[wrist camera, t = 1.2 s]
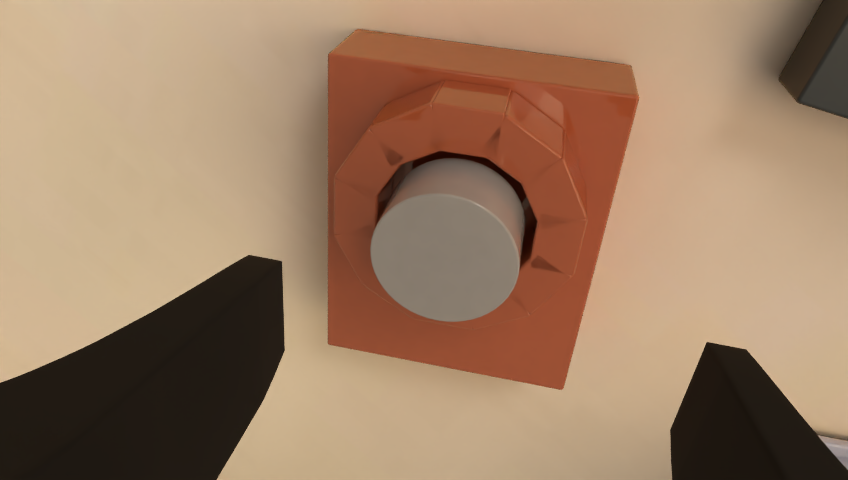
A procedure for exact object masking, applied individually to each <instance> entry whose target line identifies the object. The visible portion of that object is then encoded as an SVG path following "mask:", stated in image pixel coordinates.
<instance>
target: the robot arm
mask: <svg viewBox="0 0 848 480" xmlns="http://www.w3.org/2000/svg"><path fill="white" fill-rule="evenodd" d="M284 351H285V347H284V314H283V281H282V261H278V260H273V259H268V258H262V257H257V256H252V255H248V256H246V257H244V258H243V259H241V260H239V261H237V262H235V263H234V264H232V265H230V266H229V267H227V268H225V269H224V270H222V271H220V272H219V273H217V274H215V275H214V276H212V277H210V278H209V279H207V280H206V281H204V282H202V283H201V284H199V285H197V286H196V287H194V288H192V289H191V290H189V291H187V292H185V293H184V294H182V295H180V296H179V297H177V298H175V299H174V300H172V301H170V302H168V303H167V304H165V305H163V306H162V307H160V308H158V309H157V310H155V311H153V312H151V313H149V314H147V315H146V316H144V317H142V318H140V319H138V320H136V321H134V322H132V323H131V324H129V325H127V326H125V327H123V328H121V329H119V330H117V331H115V332H114V333H112V334H110V335H108V336H106V337H104V338H102V339H100V340H98V341H96V342H94V343H92V344H90V345H88V346H86V347H84V348H82V349H80V350H78V351H76V352H73V353H71V354H69V355H67V356H65V357H63V358H60V359H58V360H56V361H53V362H51V363H49V364H46V365H44V366H42V367H39V368H37V369H35V370H32V371H30V372H28V373H25V374H23V375H20V376H18V377H15V378H12V379H10V380H7V381H4V382H1V383H0V480H216V479H217V478H218V476H219V474H220V473H221V471H222V469H223V468H224V466H225V464H226V463H227V461H228V459H229V458H230V456H231V454H232V453H233V451H234V449H235V448H236V446H237V444H238V443H239V441H240V439H241V438H242V436H243V434H244V432H245V431H246V429H247V427H248V426H249V424H250V422H251V420H252V419H253V417H254V415H255V414H256V412H257V410H258V408H259V407H260V405H261V403H262V401H263V400H264V398H265V395H266V393H267V391H268V389H269V386H270V384H271V382H272V380H273V377H274V375H275V372H276V370H277V368H278V365H279V363H280V360H281V358H282V355H283V353H284ZM670 435H671V464H672V480H848V441H846V440H840V439H835V438H830V437H825V436H820V435H817V434H816V433H815V432H814V431H813V429H812V428H811V427H810V426H809V425H808V423H807V422H806V421H805V420H804V419H803V417H802V416H801V415H800V414H799V413H798V411H797V410H796V409H795V408H794V407H793V405H792V404H791V403H790V402H789V400H788V399H787V398H786V397H785V396H784V394H783V393H782V392H781V391H780V389H779V388H778V387H777V386H776V385H775V383H774V382H773V381H772V380H771V378H770V377H769V376H768V375H767V373H766V372H765V371H764V370H763V369H762V367H761V366H760V365H759V364H758V363H757V361H756V360H755V359H754V358H753V357H752V356H751V355H750V353H749V352H748V351H747V350H746V349H740V348H735V347H730V346H725V345H719V344H714V343H709V342H707V343H706V346H705V348H704V350H703V353H702V355H701V358H700V360H699V362H698V365H697V367H696V370H695V372H694V374H693V377H692V379H691V382H690V384H689V386H688V389H687V391H686V394H685V396H684V398H683V401H682V403H681V406H680V408H679V410H678V413H677V415H676V418H675V420H674V422H673V425H672V427H671V430H670Z"/></svg>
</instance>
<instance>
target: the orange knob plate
mask: <svg viewBox="0 0 848 480" xmlns="http://www.w3.org/2000/svg"><path fill="white" fill-rule="evenodd" d="M638 101H639V95H638V91H637V87H636V82H635V78H634V74H633V70H632V66H630V65H624V64H617V63H609V62H602V61H594V60H587V59H579V58H572V57H564V56H557V55H549V54H542V53H534V52H526V51H519V50H511V49H504V48H496V47H489V46H481V45H474V44H466V43H459V42H451V41H444V40H436V39H429V38H421V37H414V36H406V35H398V34H391V33H383V32H376V31H368V30H361V29H357V30H355V31H354V32H353V33H352V34H350V35H349V36H348V37H347V38H346V39H345V40H344V41H342V42H341V43H340V44H339V45H338V46H337V47H336V48H334V49H333V50H332V51H331V52H330V53H329V54H328V344H329V345H333V346H339V347H344V348H349V349H354V350H359V351H364V352H369V353H375V354H380V355H385V356H390V357H395V358H400V359H405V360H410V361H416V362H421V363H426V364H431V365H436V366H441V367H446V368H452V369H457V370H462V371H467V372H472V373H477V374H482V375H488V376H493V377H498V378H503V379H508V380H513V381H518V382H523V383H529V384H534V385H539V386H544V387H549V388H554V389H559V390H562V389H563V388H564V385H565V381H566V377H567V373H568V369H569V366H570V362H571V358H572V354H573V350H574V346H575V343H576V339H577V335H578V331H579V327H580V323H581V320H582V316H583V312H584V308H585V304H586V300H587V297H588V293H589V289H590V285H591V281H592V277H593V274H594V270H595V266H596V262H597V258H598V254H599V251H600V247H601V243H602V239H603V235H604V231H605V228H606V224H607V220H608V216H609V212H610V208H611V205H612V201H613V197H614V193H615V189H616V185H617V182H618V178H619V174H620V170H621V166H622V162H623V159H624V155H625V151H626V147H627V143H628V139H629V136H630V132H631V128H632V124H633V120H634V117H635V113H636V109H637V105H638ZM444 158H459V159H466V160H471V161H475V162H477V163H480V164H483V165H485V166H487V167H489V168H491V169H492V170H494V171H495V172H497V173H498V174H500V175H501V176H502V177H503V178H504V179H505V180H506V181H507V182H508V183H509V184H510V185H511V186H512V188H513V189H514V190H515V192H516V193H517V195H518V197H519V199H520V201H521V204H522V207H523V210H524V215H525V231H524V239H523V247H522V254H521V262H520V270H519V275H518V279H517V282H516V285H515V287H514V289H513V291H512V292H511V294H510V295H509V297H508V298H507V299H506V300H505V301H504V302H503V303H502V304H501V305H500V306H499V307H497V308H496V309H495V310H493V311H491V312H490V313H488V314H486V315H484V316H482V317H479V318H475V319H472V320H467V321H459V322H445V321H438V320H433V319H429V318H426V317H423V316H420V315H418V314H415V313H413V312H411V311H409V310H408V309H406V308H404V307H403V306H401V305H400V304H399V303H397V302H396V301H395V300H394V299H393V298H392V297H391V296H390V295H389V294H388V293H387V292H386V291H385V289H384V288H383V287H382V285H381V284H380V282H379V281H378V279H377V277H376V274H375V272H374V269H373V266H372V262H371V256H370V246H371V239H372V235H373V232H374V230H375V227H376V225H377V223H378V221H379V219H380V217H381V215H382V214H383V212H384V210H385V208H386V206H387V204H388V202H389V200H390V198H391V196H392V194H393V192H394V190H395V188H396V187H397V185H398V184H399V182H400V181H401V180H402V179H403V178H404V176H405V175H407V174H408V173H409V172H410V171H411V170H413V169H415V168H416V167H418V166H420V165H422V164H424V163H426V162H430V161H433V160H437V159H444Z"/></svg>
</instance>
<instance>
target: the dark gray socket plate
mask: <svg viewBox="0 0 848 480" xmlns="http://www.w3.org/2000/svg"><path fill="white" fill-rule="evenodd" d="M779 81H780V82H781V83H782V85H783V86H784V87H785V88H786V90H787V91H788V92H789V93H790V94H791V96H792V97H793V98H794V99H795V100H796V101H797V102H798V103H799V104H803V105H806V106H809V107H812V108H815V109H818V110H822V111H825V112H828V113H831V114H834V115H837V116H841V117H844V118H847V119H848V0H823V2H822V4H821V5H820V7H819V9H818V11H817V12H816V14H815V16H814V18H813V19H812V21H811V23H810V25H809V26H808V28H807V30H806V31H805V33H804V35H803V37H802V38H801V40H800V42H799V44H798V45H797V47H796V49H795V51H794V52H793V54H792V56H791V58H790V59H789V61H788V63H787V65H786V66H785V68H784V70H783V71H782V73H781V75H780V77H779Z"/></svg>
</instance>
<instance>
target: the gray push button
mask: <svg viewBox="0 0 848 480" xmlns="http://www.w3.org/2000/svg"><path fill="white" fill-rule="evenodd" d="M524 231H525V215H524V210H523V207H522V204H521V201H520V199H519V197H518V195H517V193H516V192H515V190H514V189H513V188H512V186H511V185H510V184H509V183H508V182H507V181H506V180H505V179H504V178H503V177H502V176H501V175H500V174H498V173H497V172H495V171H494V170H492V169H491V168H489V167H487V166H485V165H483V164H480V163H477V162H475V161H471V160H466V159H459V158H444V159H437V160H433V161H430V162H426V163H424V164H422V165H420V166H418V167H416V168H415V169H413V170H411V171H410V172H409V173H408V174H407V175H405V176H404V178H403V179H402V180H401V181H400V182H399V184H398V185H397V187H396V188H395V190H394V192H393V194H392V196H391V198H390V200H389V202H388V204H387V206H386V208H385V210H384V212H383V214H382V215H381V217H380V219H379V221H378V223H377V225H376V227H375V230H374V232H373V235H372V239H371V246H370V256H371V262H372V266H373V269H374V272H375V274H376V277H377V279H378V281H379V282H380V284H381V285H382V287H383V288H384V289H385V291H386V292H387V293H388V294H389V295H390V296H391V297H392V298H393V299H394V300H395V301H396V302H397V303H399V304H400V305H401V306H403V307H404V308H406V309H408V310H409V311H411V312H413V313H415V314H418V315H420V316H423V317H426V318H429V319H433V320H438V321H445V322H459V321H467V320H472V319H475V318H479V317H482V316H484V315H486V314H488V313H490V312H491V311H493V310H495V309H496V308H497V307H499V306H500V305H501V304H502V303H503V302H504V301H505V300H506V299H507V298H508V297H509V295H510V294H511V292H512V291H513V289H514V287H515V285H516V282H517V279H518V275H519V270H520V262H521V254H522V247H523V239H524Z"/></svg>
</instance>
